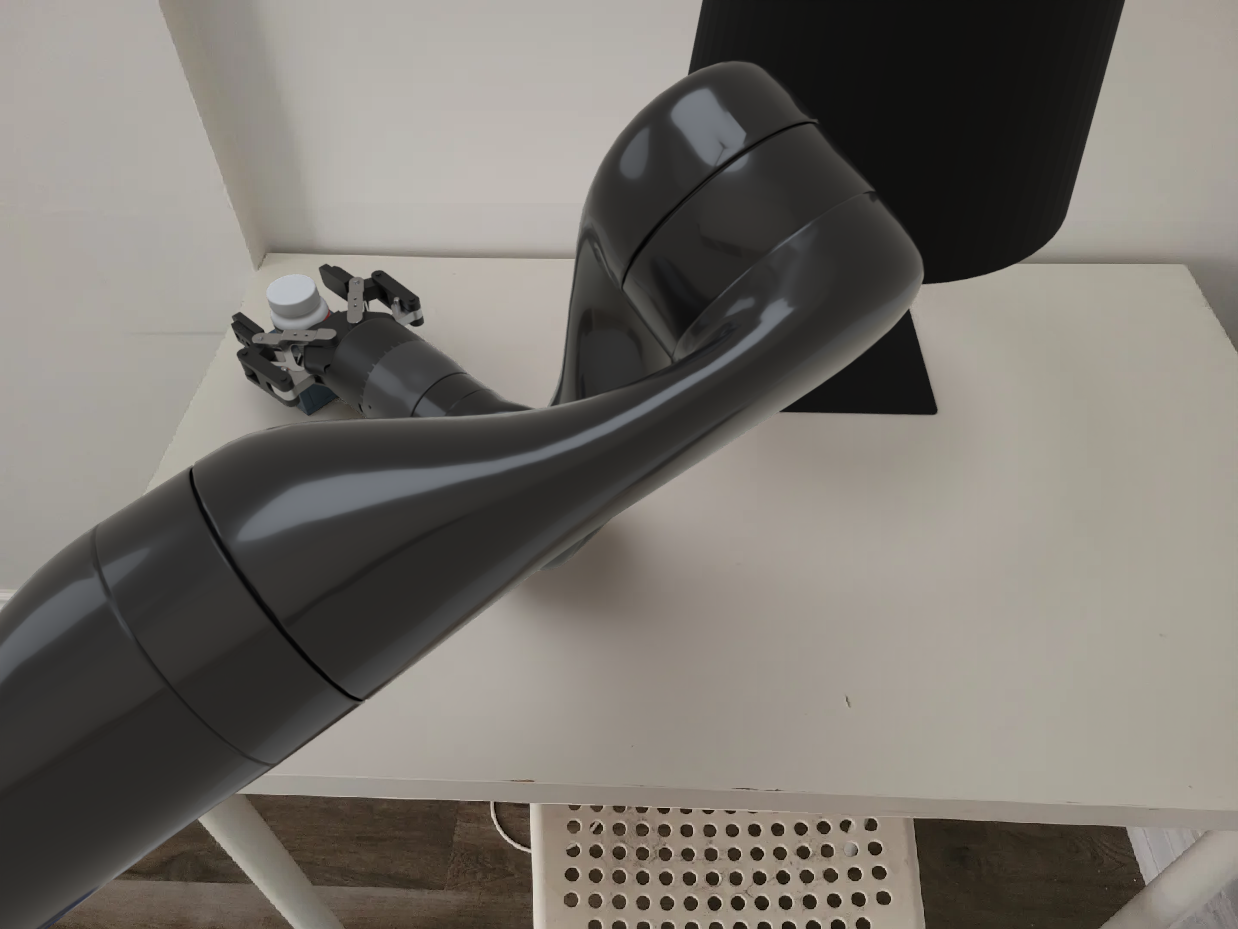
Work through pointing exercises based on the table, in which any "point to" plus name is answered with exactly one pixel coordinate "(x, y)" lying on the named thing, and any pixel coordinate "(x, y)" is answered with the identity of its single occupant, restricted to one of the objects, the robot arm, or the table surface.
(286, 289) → the pill bottle
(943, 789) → the table surface
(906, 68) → the table lamp
